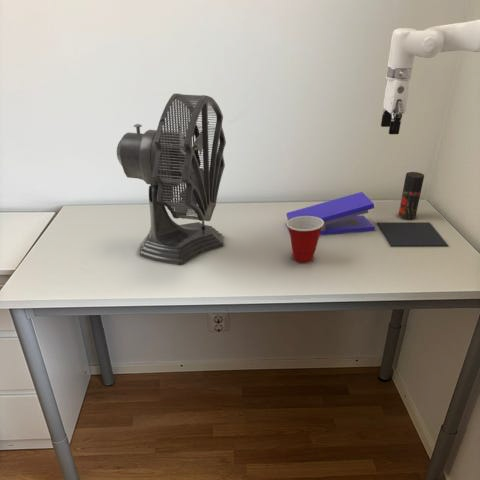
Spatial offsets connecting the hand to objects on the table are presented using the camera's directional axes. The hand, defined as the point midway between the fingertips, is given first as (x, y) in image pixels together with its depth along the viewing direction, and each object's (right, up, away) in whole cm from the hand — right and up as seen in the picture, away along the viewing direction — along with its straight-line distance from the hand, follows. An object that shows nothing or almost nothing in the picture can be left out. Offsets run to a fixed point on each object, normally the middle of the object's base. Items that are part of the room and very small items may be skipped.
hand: (389, 130), depth 170 cm
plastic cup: (-31, -45, -16) cm, 56 cm away
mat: (+7, -35, -1) cm, 35 cm away
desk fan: (-70, -41, -11) cm, 82 cm away
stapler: (-19, -32, +4) cm, 37 cm away
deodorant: (+10, -26, +12) cm, 30 cm away
